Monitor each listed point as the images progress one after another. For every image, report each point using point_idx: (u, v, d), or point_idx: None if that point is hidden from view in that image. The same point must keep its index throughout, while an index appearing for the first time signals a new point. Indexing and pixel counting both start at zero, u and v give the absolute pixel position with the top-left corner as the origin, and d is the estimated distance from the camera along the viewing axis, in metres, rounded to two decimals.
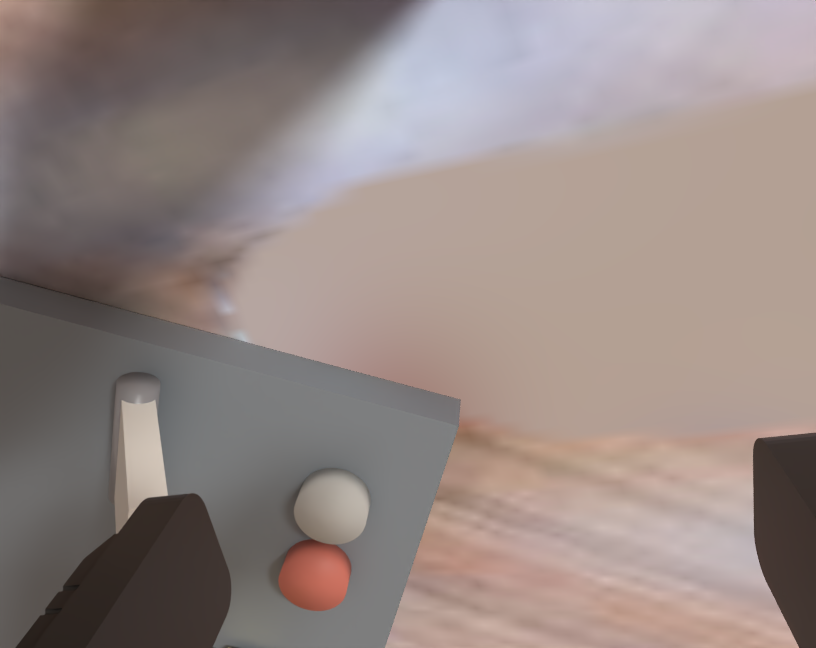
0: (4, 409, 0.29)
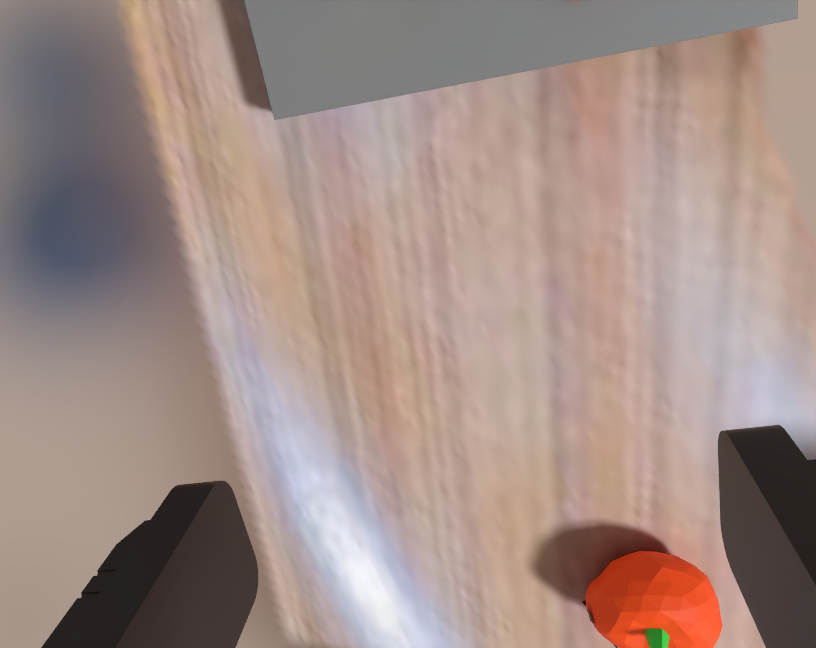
0: None
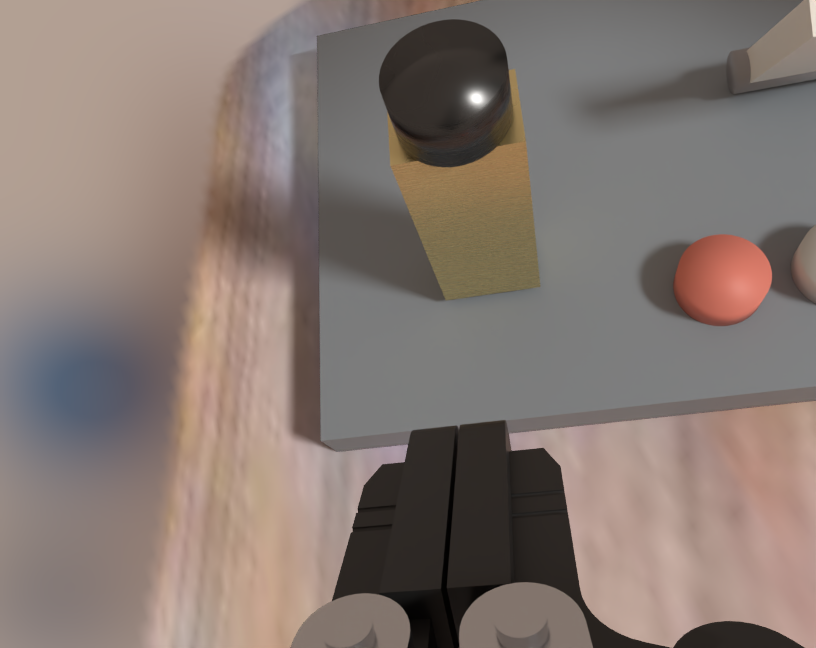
0: None
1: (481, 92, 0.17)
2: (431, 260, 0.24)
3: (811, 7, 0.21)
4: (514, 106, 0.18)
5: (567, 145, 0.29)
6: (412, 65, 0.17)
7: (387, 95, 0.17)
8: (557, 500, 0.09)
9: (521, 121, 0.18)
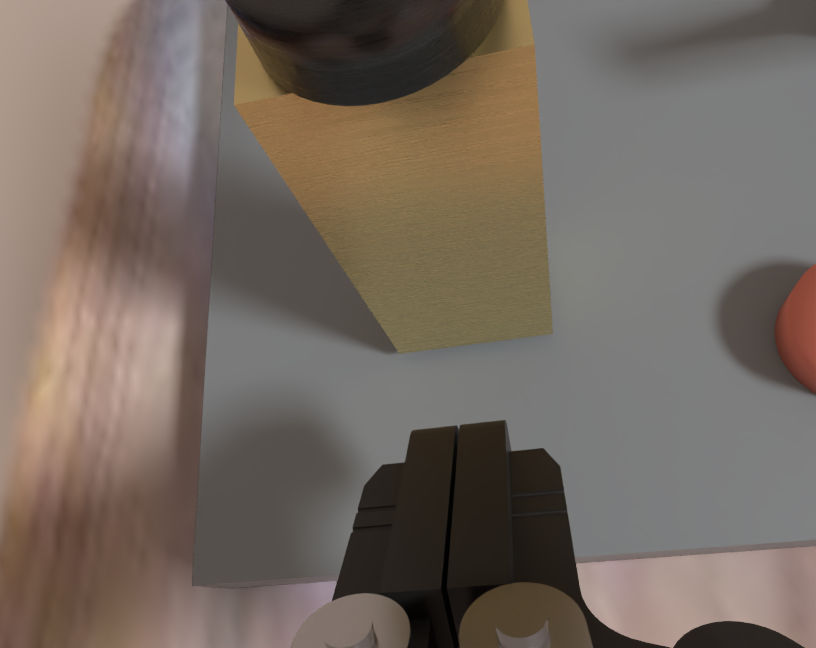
0: None
1: None
2: (364, 295, 0.13)
3: None
4: None
5: (592, 108, 0.18)
6: None
7: None
8: (557, 500, 0.09)
9: (524, 2, 0.08)
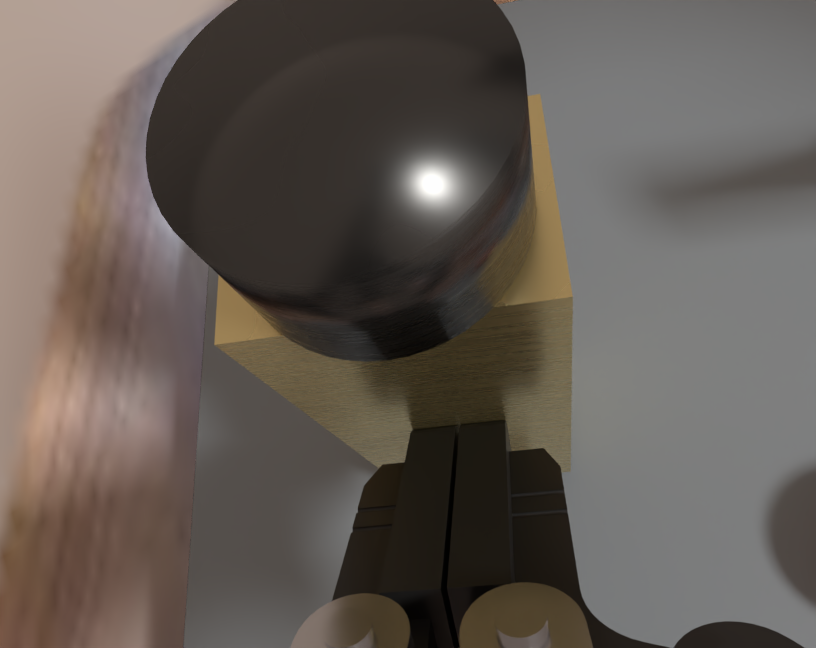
0: None
1: (440, 177, 0.05)
2: (365, 455, 0.12)
3: None
4: (539, 194, 0.07)
5: (622, 260, 0.17)
6: (245, 87, 0.06)
7: (165, 176, 0.06)
8: (557, 500, 0.09)
9: (558, 237, 0.07)
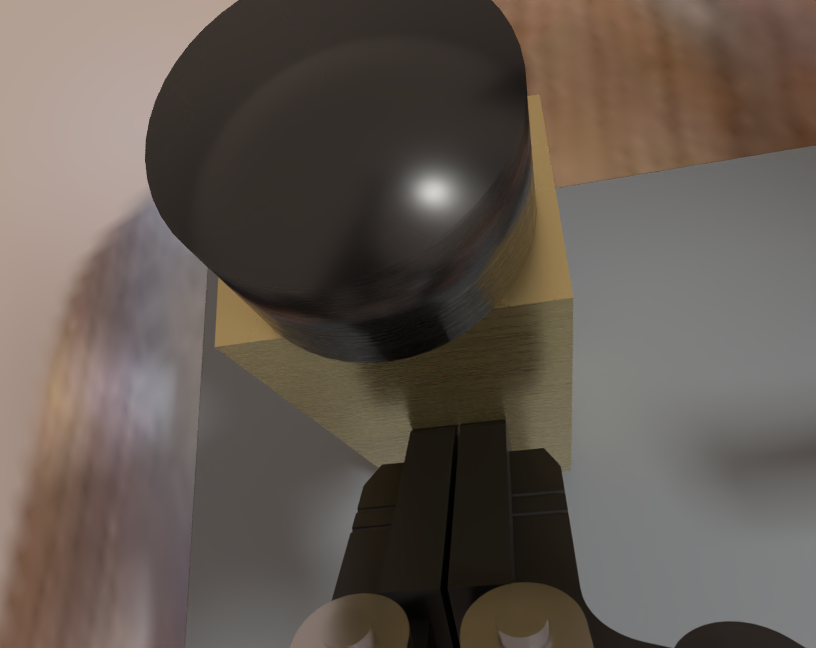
0: None
1: (441, 180, 0.05)
2: (366, 455, 0.12)
3: None
4: (539, 194, 0.07)
5: (679, 547, 0.14)
6: (244, 89, 0.06)
7: (164, 179, 0.06)
8: (558, 500, 0.09)
9: (559, 237, 0.07)
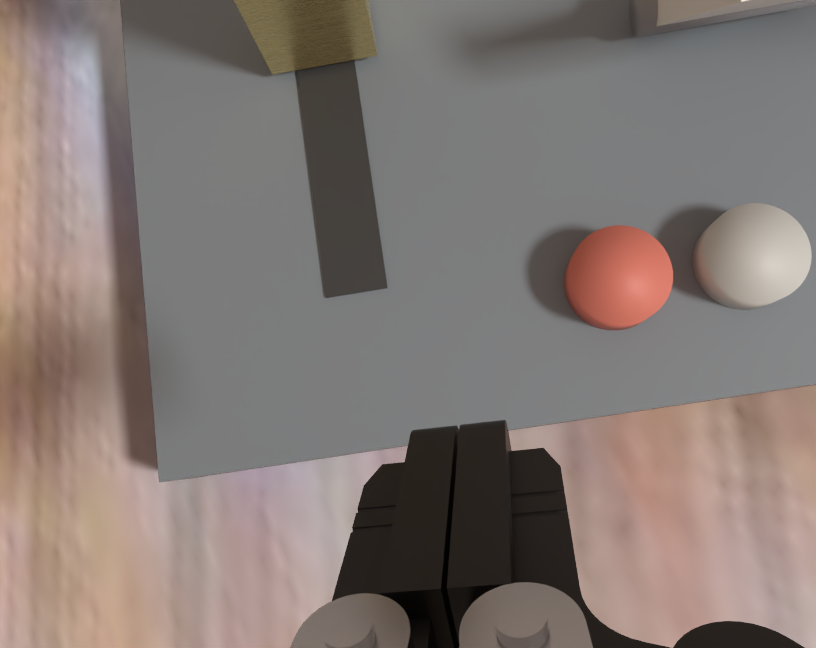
0: None
1: None
2: (243, 13, 0.20)
3: None
4: None
5: (441, 97, 0.23)
6: None
7: None
8: (557, 500, 0.09)
9: None
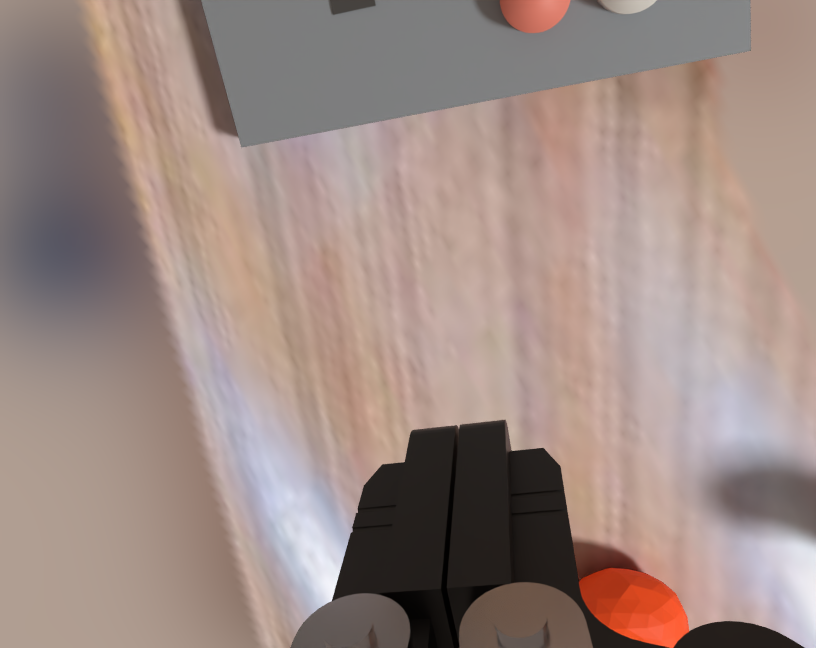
0: None
1: None
2: None
3: None
4: None
5: None
6: None
7: None
8: (557, 500, 0.09)
9: None
